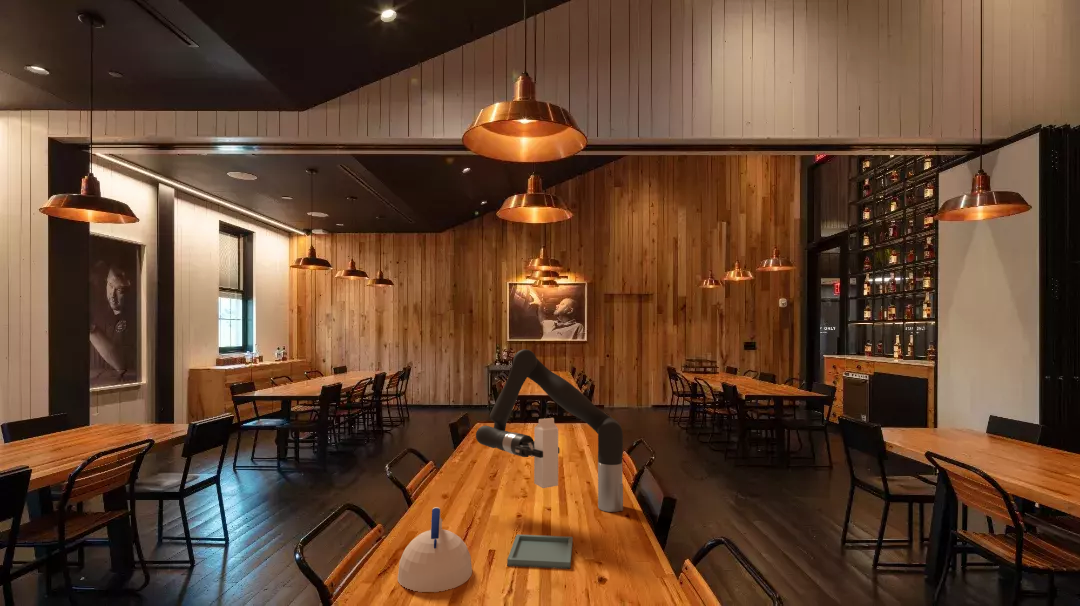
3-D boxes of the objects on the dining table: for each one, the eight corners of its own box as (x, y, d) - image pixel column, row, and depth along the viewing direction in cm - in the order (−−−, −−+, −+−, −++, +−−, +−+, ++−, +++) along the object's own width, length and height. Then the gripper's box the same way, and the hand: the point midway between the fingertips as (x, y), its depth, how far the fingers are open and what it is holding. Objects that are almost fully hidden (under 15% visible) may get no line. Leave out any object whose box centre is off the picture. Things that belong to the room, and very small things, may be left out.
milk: (558, 485, 171) (558, 419, 172) (542, 488, 168) (543, 420, 169) (549, 480, 176) (549, 416, 177) (533, 483, 173) (534, 417, 174)
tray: (572, 542, 163) (572, 536, 163) (570, 568, 145) (570, 562, 145) (516, 540, 165) (516, 534, 165) (507, 565, 147) (507, 559, 147)
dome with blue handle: (470, 555, 154) (471, 494, 155) (473, 590, 134) (474, 519, 134) (401, 560, 150) (402, 498, 151) (393, 597, 130) (394, 524, 131)
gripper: (502, 436, 178) (535, 444, 166) (532, 430, 188) (565, 438, 176) (502, 458, 178) (535, 468, 166) (532, 451, 188) (565, 460, 176)
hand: (550, 452), depth 171 cm, fingers closed on milk, 7 cm apart
